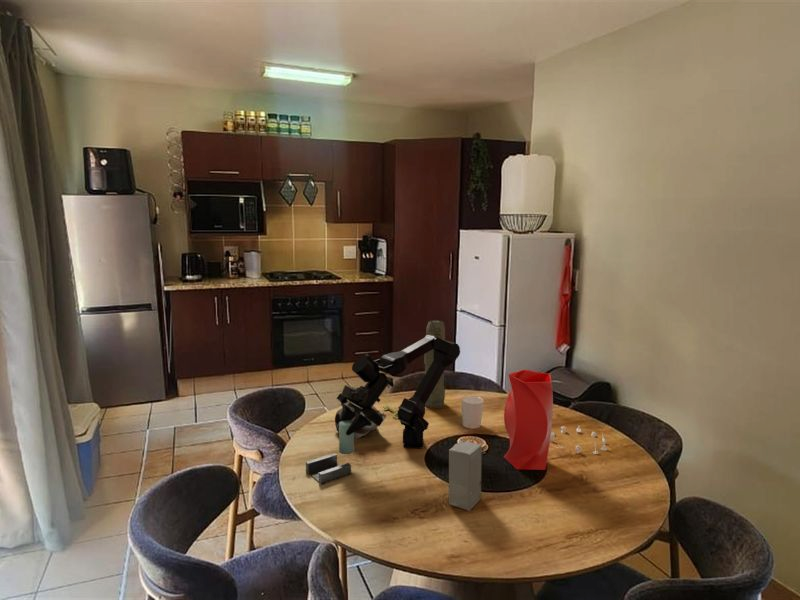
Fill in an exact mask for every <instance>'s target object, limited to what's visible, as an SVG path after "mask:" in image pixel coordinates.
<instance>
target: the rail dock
mask: <svg viewBox="0 0 800 600" xmlns="http://www.w3.org/2000/svg"><path fill="white" fill-rule="evenodd" d="M305 472H306V473H307V474H308V475H310V476H311V477H312V478H313V479H314V480H315V481H317V482H318V483H319V484H320V485H326V484H328V483H331V482H333V481H337V480H340V479H343V478H345V477H348V476H351V475H352V465H351V463H349V462H346V463H344V464H339V463H338V454H337V453H336V452H334V453H331V454H327V455H323V456H320V457H318V458H315V459H311V460H307V461H305Z"/></svg>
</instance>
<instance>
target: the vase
mask: <svg viewBox="0 0 800 600" xmlns="http://www.w3.org/2000/svg"><path fill="white" fill-rule="evenodd" d="M507 376H508V379H509V382H510V387H511V389H510V391H509V393H508V395H507V398H506V402H505V405H504V410H503V423H504V428H505V430H506V434H507V435H508V439H509V448H508V451H507V452H506V453H505V454H504V456H503V459H505V460H506V461H507V462H508V463H509V464H511V465H512V466H513V467H514V468H515V469H516V470H530V471H531V470H532V471H533V470H535V471H536V470H538V471H539V470H540V471H545V470H546V468H547V463H548V455H549V449H550V442H551V441H550V436H551V433H552V425H553V411H554V397H553V396H554V394H553V384H552V383H553V382H552V375H551V373H546V372H542V371H534V370H529V369H520V370H519V371H515V372H511V373H508V375H507Z"/></svg>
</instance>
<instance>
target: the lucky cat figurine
mask: <svg viewBox="0 0 800 600" xmlns="http://www.w3.org/2000/svg"><path fill="white" fill-rule="evenodd" d="M372 409H374V410H375V411H377V412H378V413H379V414H380V415H381V416H382V417H383V422H384V421H385V420H386V418H387V413H384V412H382V411H380V410H378V409H377V407H376V406H375V404H374V405H373V406H372ZM356 411H357V410H354V413H355V412H356ZM342 412H343V409H342V407H341V408H339V409H338V410H337V412H336V413H335V417H334V423H335V429H336V431H337V432H339V429H338V428H337V427H338V424H339V421H340V418H341V415H342ZM357 412H359V411H357ZM359 413H361V412H359ZM354 419H355V417H354V418H353V419H352V420H351V421H353V420H354ZM371 423H372V424H371V425H370V424H369V425H367V426H365V427H363V428H361V429H359V430H357V431H355V432H354V439H360V438H361V437H363V436H367V434H368V433H370V432H371V431H374V430H376V429H378V427H379V426H378V425H376V424H374V423H373V421H371Z"/></svg>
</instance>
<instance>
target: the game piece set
mask: <svg viewBox="0 0 800 600" xmlns="http://www.w3.org/2000/svg"><path fill="white" fill-rule="evenodd" d="M560 429H561V430H560V432H561V433H562V434H564V433H567V432H566V429H567V427H566V426H560ZM576 433H582V429H581V426H580V425H578V427H577V428H576ZM601 435H602V437H601V440H602V443H603V445H600V450H601V451H608V450H609V447H606V444H607V440H606V438H605V436H604V433H602V434H601ZM555 436H556V433H555V431H554V430H553V431H551V436H550V442H554V438H555ZM591 437H592V438H596V437H597V433H596V431H593V430H592V432H591ZM557 445H558V446H559V448H558V449H560V450H563V449H564V447H563V446H561V445H560V444H559V443H557ZM596 447H597V443H595V442H594V451H592V454H594V455H599V451H598V450H597V448H596ZM581 450H582V447H581V446H580V445H576V446H575V452H576V454H580V451H581Z"/></svg>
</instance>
